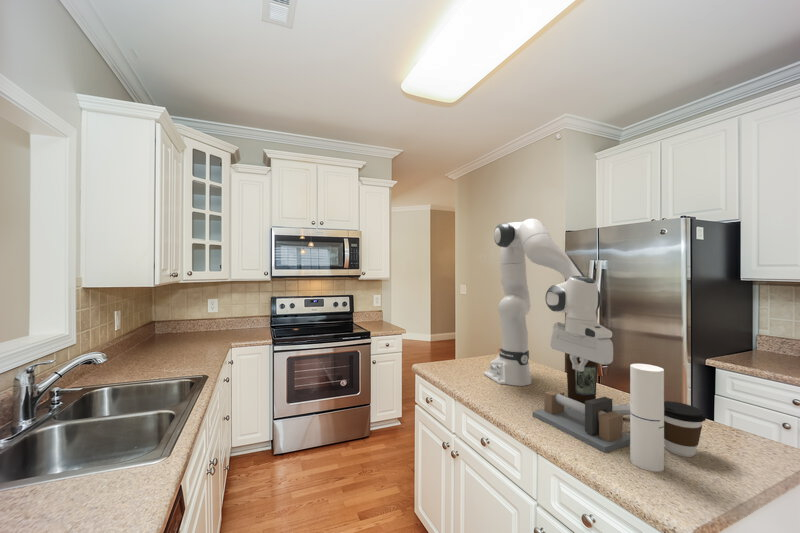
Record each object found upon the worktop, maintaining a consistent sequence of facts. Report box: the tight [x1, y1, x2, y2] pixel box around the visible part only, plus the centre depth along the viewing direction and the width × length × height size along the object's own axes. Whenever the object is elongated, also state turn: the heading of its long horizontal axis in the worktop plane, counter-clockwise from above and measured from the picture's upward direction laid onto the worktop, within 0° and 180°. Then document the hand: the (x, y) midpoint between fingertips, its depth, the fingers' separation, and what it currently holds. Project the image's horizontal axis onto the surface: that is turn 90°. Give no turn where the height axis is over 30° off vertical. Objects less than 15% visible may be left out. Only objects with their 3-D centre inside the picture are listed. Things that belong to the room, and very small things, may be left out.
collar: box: [585, 396, 613, 435], centre depth 104 cm, size 2×9×9 cm, turn 115°
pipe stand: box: [532, 389, 630, 453], centre depth 110 cm, size 26×14×8 cm, turn 25°
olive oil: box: [565, 353, 599, 404], centre depth 132 cm, size 11×11×25 cm
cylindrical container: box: [629, 363, 665, 473], centre depth 90 cm, size 7×7×25 cm
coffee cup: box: [664, 400, 707, 458], centre depth 96 cm, size 11×11×12 cm
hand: (578, 370), depth 110 cm, fingers closed
